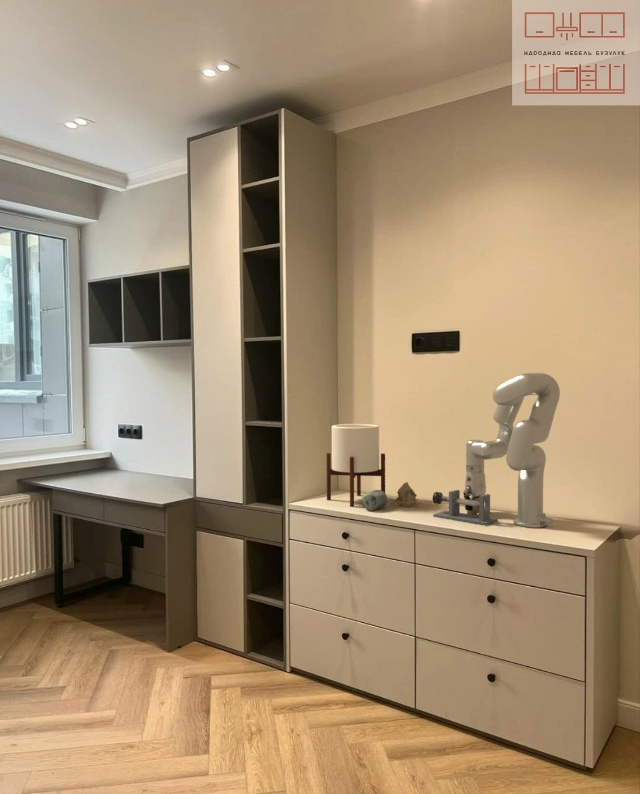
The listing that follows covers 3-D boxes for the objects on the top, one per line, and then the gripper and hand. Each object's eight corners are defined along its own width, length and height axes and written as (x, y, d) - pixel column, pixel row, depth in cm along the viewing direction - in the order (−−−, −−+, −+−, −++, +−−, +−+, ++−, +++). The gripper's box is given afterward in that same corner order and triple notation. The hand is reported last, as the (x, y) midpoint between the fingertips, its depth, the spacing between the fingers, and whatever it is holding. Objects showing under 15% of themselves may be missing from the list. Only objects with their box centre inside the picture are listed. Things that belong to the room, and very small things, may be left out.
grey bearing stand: (497, 521, 251) (497, 494, 251) (485, 525, 244) (485, 497, 243) (446, 512, 268) (446, 487, 267) (433, 516, 260) (433, 490, 260)
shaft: (481, 509, 253) (481, 497, 253) (474, 511, 250) (474, 498, 249) (439, 502, 267) (439, 491, 267) (432, 504, 263) (432, 492, 263)
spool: (376, 505, 267) (371, 484, 271) (360, 513, 272) (355, 492, 276) (395, 508, 276) (389, 487, 281) (378, 515, 282) (373, 495, 286)
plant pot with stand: (359, 494, 310) (359, 423, 309) (389, 501, 292) (388, 426, 291) (322, 499, 298) (322, 425, 296) (351, 507, 279) (350, 428, 278)
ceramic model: (392, 501, 294) (391, 480, 294) (415, 500, 295) (415, 479, 294) (398, 507, 280) (398, 485, 279) (422, 506, 281) (422, 484, 280)
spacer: (483, 512, 267) (483, 496, 267) (475, 515, 262) (475, 499, 262) (474, 511, 270) (474, 495, 269) (467, 514, 265) (467, 497, 265)
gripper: (472, 472, 256) (472, 513, 257) (492, 467, 269) (492, 506, 270) (456, 470, 261) (456, 510, 262) (477, 465, 274) (476, 504, 275)
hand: (474, 508), depth 266 cm, fingers open, 9 cm apart
